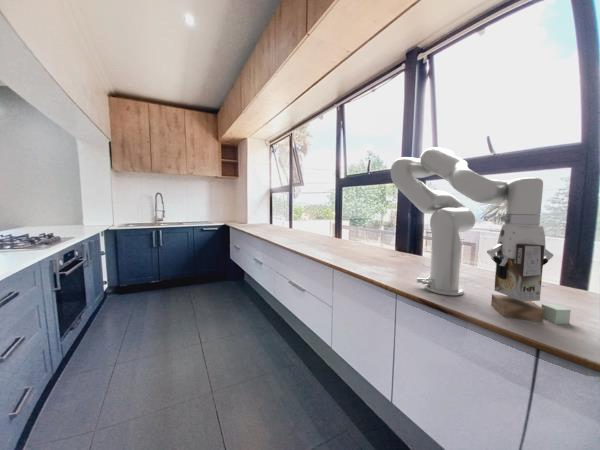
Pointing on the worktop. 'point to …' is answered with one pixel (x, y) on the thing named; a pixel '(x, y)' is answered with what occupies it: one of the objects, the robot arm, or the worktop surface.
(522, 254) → the coffee box
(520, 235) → the robot arm
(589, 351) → the worktop surface
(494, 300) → the base block
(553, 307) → the cube
